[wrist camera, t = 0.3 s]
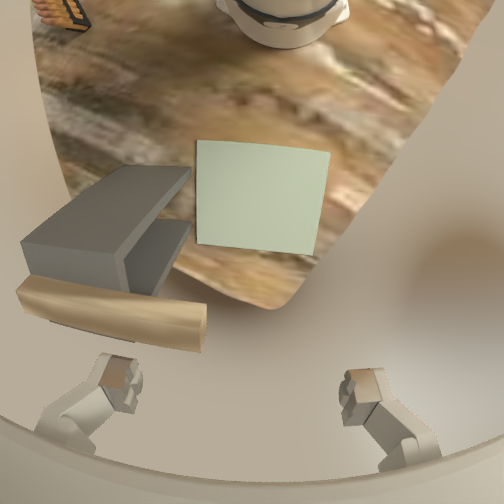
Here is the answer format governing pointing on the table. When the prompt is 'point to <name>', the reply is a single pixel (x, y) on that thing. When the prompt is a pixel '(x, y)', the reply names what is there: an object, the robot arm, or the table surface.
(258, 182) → the mat
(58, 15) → the ammunition clip
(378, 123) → the table surface
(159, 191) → the stand
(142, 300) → the beech bar
